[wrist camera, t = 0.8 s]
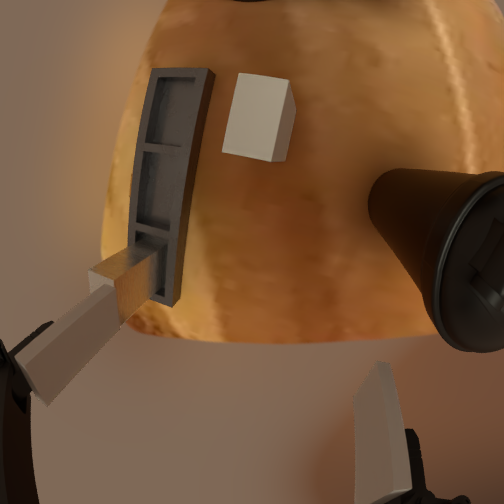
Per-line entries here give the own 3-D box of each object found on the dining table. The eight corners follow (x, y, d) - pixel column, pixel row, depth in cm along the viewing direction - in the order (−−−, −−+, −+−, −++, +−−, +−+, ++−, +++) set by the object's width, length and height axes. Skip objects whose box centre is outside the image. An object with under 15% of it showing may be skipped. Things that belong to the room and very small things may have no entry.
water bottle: (409, 262, 29) (505, 403, 8) (344, 218, 29) (411, 355, 8) (451, 193, 25) (597, 262, 4) (387, 143, 25) (539, 129, 4)
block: (265, 104, 27) (239, 72, 16) (296, 110, 26) (289, 79, 15) (254, 154, 29) (221, 152, 18) (285, 161, 29) (270, 161, 17)
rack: (160, 73, 27) (96, 47, 16) (215, 74, 26) (164, 35, 15) (135, 282, 38) (82, 325, 27) (180, 298, 37) (133, 351, 26)
